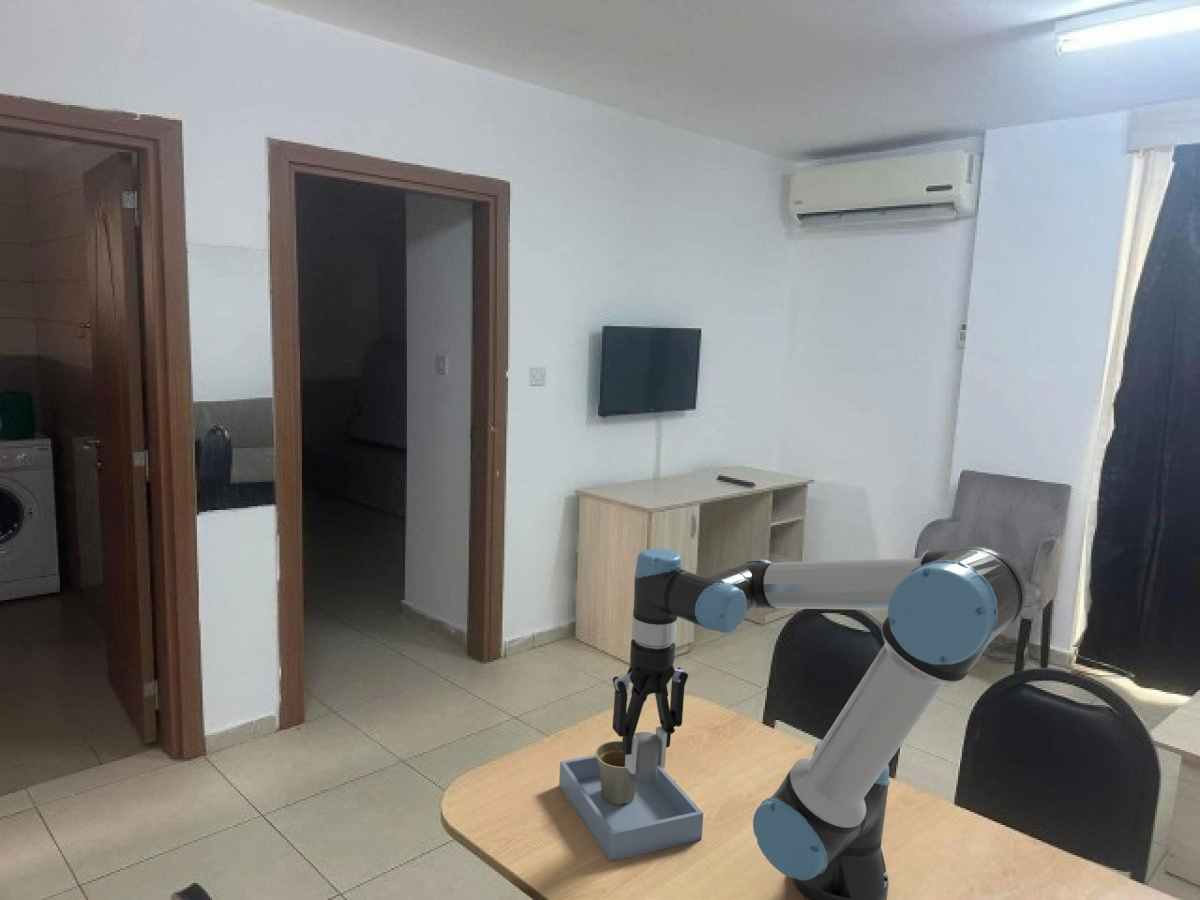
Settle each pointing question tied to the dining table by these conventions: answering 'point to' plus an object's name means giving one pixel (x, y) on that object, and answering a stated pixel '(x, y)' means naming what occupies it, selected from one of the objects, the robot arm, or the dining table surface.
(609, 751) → the flower pot
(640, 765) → the canister
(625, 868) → the dining table surface
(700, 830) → the tote
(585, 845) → the dining table surface
